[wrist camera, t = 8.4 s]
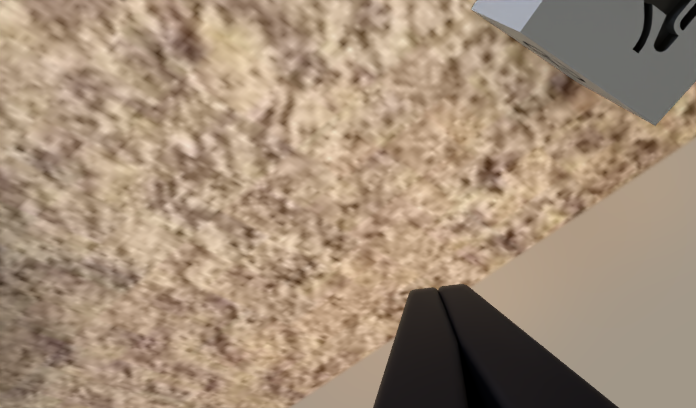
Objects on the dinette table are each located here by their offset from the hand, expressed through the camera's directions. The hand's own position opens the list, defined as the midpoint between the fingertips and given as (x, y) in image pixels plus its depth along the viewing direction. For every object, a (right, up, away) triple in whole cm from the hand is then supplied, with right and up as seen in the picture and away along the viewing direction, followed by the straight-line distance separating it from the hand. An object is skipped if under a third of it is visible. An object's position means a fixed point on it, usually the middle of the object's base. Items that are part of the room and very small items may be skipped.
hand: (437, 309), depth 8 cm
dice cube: (+6, +9, +9) cm, 15 cm away
